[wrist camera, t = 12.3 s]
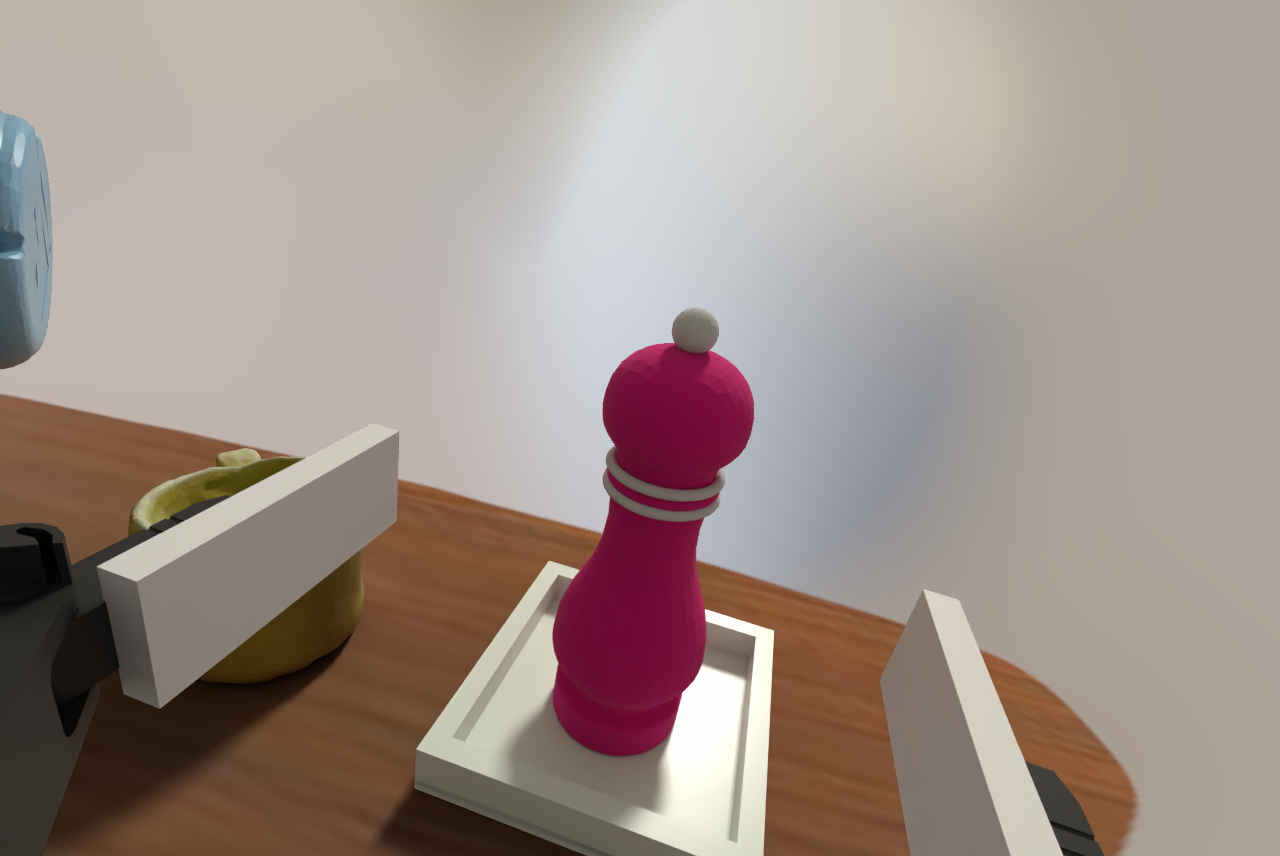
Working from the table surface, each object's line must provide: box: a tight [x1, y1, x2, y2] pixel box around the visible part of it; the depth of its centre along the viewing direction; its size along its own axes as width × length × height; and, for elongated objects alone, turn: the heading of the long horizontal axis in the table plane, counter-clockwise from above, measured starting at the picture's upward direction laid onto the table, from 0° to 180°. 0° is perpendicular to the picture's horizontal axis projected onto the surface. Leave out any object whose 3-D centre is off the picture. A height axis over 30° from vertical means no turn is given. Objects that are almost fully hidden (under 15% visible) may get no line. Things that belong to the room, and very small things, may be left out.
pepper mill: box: [552, 307, 754, 756], centre depth 26 cm, size 7×7×20 cm
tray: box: [414, 561, 774, 856], centre depth 29 cm, size 14×14×2 cm
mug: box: [128, 448, 364, 684], centre depth 30 cm, size 12×10×10 cm
